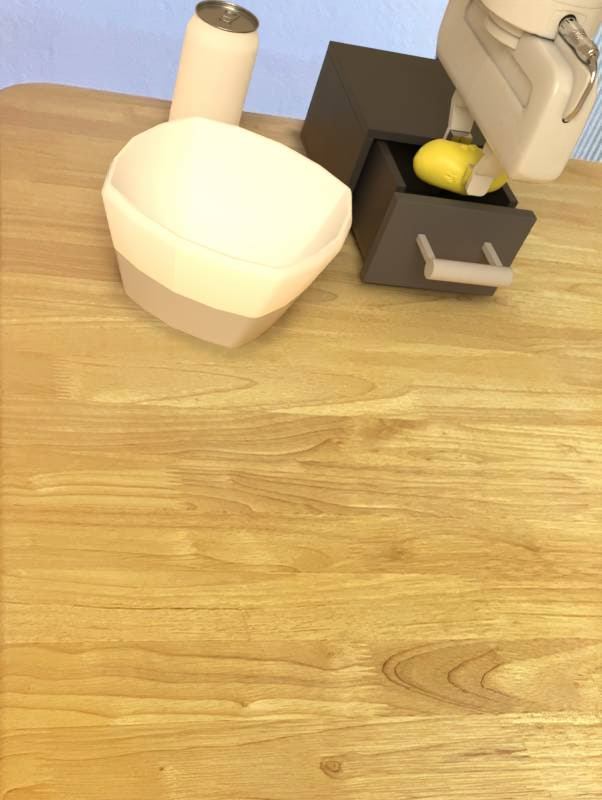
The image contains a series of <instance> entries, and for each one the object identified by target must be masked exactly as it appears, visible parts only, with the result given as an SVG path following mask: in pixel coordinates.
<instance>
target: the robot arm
mask: <svg viewBox="0 0 602 800" xmlns="http://www.w3.org/2000/svg"><path fill="white" fill-rule="evenodd" d="M601 25H602V0H448V2H447V5H446V8H445V11H444V14H443V16H442V20H441V22H440V26H439V29H438V33H437V38H436V47H435V48H436V49H435V54H436V57H437V60H440V62H441V64H442V65H443V67H444V69H445V71H446V72H447V74H448V76H449V77H450V79H451V81H452V82H453V84H454V86H455V88H456V90H455V92H454V95H453V97H452V101H451V108H450V115H449V122H448V128H447V130H446V133H445V135H444V137H443V139H445V140H448V141H453V142H458V143H462V144H466V145H470V143H471V141H472V139H473V137H472V135H471V133H470V132H471V129H472V125H473V122H474V120H475V122H476V124H477V125H478V127H479V129H480V130H481V132H482V134H483V135H484V137H485V139H486V143H485V145H484V147H483V150H482V152H483V153H484V156H483V157H482V158H481V159H480V161H479V162H478V163H477V164H476V165H475V164H469V165H468V167H467V169H466V171H465V175H464V176H463V178H462V184H463V186H464V188H465V190H466V192H467V194H468V195H473V196H483V195H485V194H486V193H487V191H488V189H489V188H490V186H491V184H492V182H493V180H494V178H495V177H497V176H498V175H499V174H500V173H502V172H503V171H505V173H506V175H507V176H508V180H512V181H515V182H519V183H525V184H533V185H543V186H544V185H548V184H550V183H552V182H553V181H555V180H557V179H558V178H559V177H560V176H561V175H562V174H563V171H564V170H565V168H566V166H567V164H568V162H569V160H570V158H571V156H572V154H573V153H574V150H575V148H576V146H577V144H578V141H579V140H580V138H581V135H582V133H583V131H584V129H585V126H586V124H587V122H588V120H589V117H590V115H591V113H592V110H593V107H594V105H595V102H596V99H597V95H598V90H599V74H598V67H599V66H598V60H599V58H600V50H599V47H598V45H597V44H596V42H595V41H594V40H593V38H594V37H595V36H596V34H597V32H598V30H599V28H600V26H601Z"/></svg>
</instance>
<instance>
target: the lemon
mask: <svg viewBox="0 0 602 800" xmlns="http://www.w3.org/2000/svg"><path fill="white" fill-rule="evenodd" d="M482 150H483V149H480V148H478V147H477V146H476V145H471V144H470V145H466V144H462V143H458V142H453V141H448V140H445V139H436V140H433V141H430V142H428V143H426V144H425V145H424V146H422V147H421V148H420V149H419V151H418V152H417V153H416V155H415V157H414V159H413V169H414V172H415V174H416V175H417V177H418V178H419V179H421V180H422V181H424V182H426V183H428V184H431V185H433V186H436V187H439V188H442V189H445V190H448V191H451V192H454V193H458V194H461V195H467V196H470V195H468V194H467V192H466V190H465V188H464V186H463V184H462V178H463V176H464V175H465V171H466V169H467V167H468V165H469V164H475V165H476V164H477V163H478V162H479V161H480V159H481V158H482V157H483V156H484V153H483V152H482ZM508 181H509V178H508V176H507V175H506V173H505V171H503V172H502V173H500V174H499V175H498V176H497V177H495V178H494V180H493V182H492V184H491V186H490V188H489V189H488V191H487V193H489V192H493V191H496V190H497V189H499V188H501V187H502V186H503V185H504V184H505V183H506V182H507V183H508Z"/></svg>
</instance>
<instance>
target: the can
mask: <svg viewBox="0 0 602 800" xmlns="http://www.w3.org/2000/svg"><path fill="white" fill-rule="evenodd" d="M259 27H260V20H259V18H258V17H257V15H255V14H254V13H253V12H252V11H251V10H249V9H247V8H245V7H243V6H241V5H239V4H236V3H233V2H230V1H226V0H201V1H199V2H198V3H196V5H195V7H194V14H193V15H192V16H191V17H190V19H188V22H187V25H186V28H185V32H184V37H183V43H182V48H181V53H180V57H179V62H178V67H177V73H176V78H175V84H174V87H173V88H174V89H173V94H172V100H171V104H170V109H169V114H168V120H167V122H169V121H173V120H177V119H182V118H186V117H190V116H201V117H205V118H209V119H212V120H216V121H220V122H224V123H227V124H231V125H235V126H239V127H240V121H241V117H242V114H243V110H244V106H245V102H246V100H247V95H248V91H249V87H250V83H251V79H252V75H253V71H254V67H255V63H256V59H257V56H258V51H259V46H260V39H259V34H258V29H259Z"/></svg>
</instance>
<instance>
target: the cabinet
mask: <svg viewBox="0 0 602 800" xmlns="http://www.w3.org/2000/svg"><path fill="white" fill-rule="evenodd" d="M323 58H324V59H323V61H322V65H321V68H320V71H319V73H318V77H317V80H316V83H315V87H314V89H313V93H312V96H311V99H310V103H309V105H308V108H307V112H306V115H305V117H304V122H303V125H302V128H301V131H300V134H299V139H300V140H301V141H300V142H301V144H302V146H303V149H304V151H305V155H306V158H308V159H310V160H312V161H313V162H315V163H317V164H319V165H320V166H322V167H323V168H324V169H326V170H327V171H328V172H329V173H331V174H332V175H333V176H335V177H336V178H337V179H339V180H340V181H341V182H342V183H344V184H345V185H346V186H348V187H349V188H350V190H351V194H353V191H354V189H355V186H356V184H357V181H358V178H359V176H360V173H361V171H362V168H363V165H364V163H365V160H366V158H367V155H368V152H369V150H370V147H371V145H372V142H373V139H374V138H375V139H382V140H388V141H395V142H401V143H408V144H415V145H421V146H424V145H425V144H426V143H428V142H430V141H433V140H436V139H443V137H444V135H445V133H446V130H447V128H448V122H449V115H450V108H451V101H452V97H453V95H454V92H455V90H456V88H455V86H454V84H453V82H452V81H451V79H450V77H449V76H448V74H447V72H446V71H445V69H444V67H443V65H442V64H441V62H440V60H439V59H437V58H431V57H424V56H419V55H414V54H408V53H402V52H397V51H392V50H391V51H390V50H385V49H381V48H374V47H369V46H363V45H358V44H353V43H352V44H351V43H346V42H340V41H334V40H329V42H328V45H327V48H326V51H325V55H324V57H323ZM470 133H471V135H472V137H473V139H472V141H471V143H470V144H471V145H476V146H477V147H478V148H480V149H483V147H484V145H485V143H486V139H485V137H484V135H483V134H482V132H481V130H480V129H479V127H478V125H477V124H476V122H475V120H474V122H473V125H472V129H471V132H470ZM350 230H353V229H352V226H351V228H350Z"/></svg>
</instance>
